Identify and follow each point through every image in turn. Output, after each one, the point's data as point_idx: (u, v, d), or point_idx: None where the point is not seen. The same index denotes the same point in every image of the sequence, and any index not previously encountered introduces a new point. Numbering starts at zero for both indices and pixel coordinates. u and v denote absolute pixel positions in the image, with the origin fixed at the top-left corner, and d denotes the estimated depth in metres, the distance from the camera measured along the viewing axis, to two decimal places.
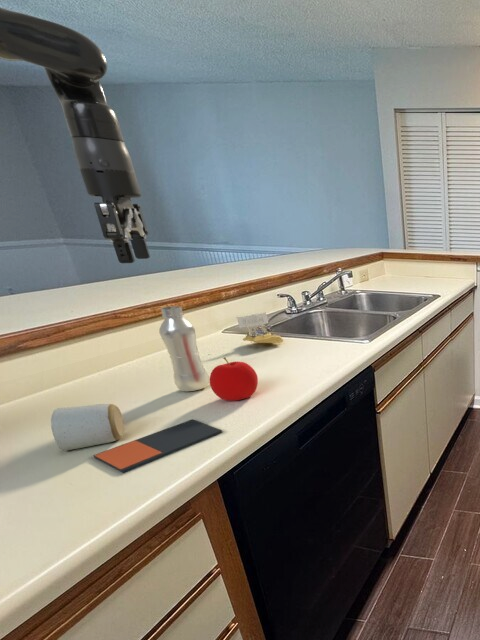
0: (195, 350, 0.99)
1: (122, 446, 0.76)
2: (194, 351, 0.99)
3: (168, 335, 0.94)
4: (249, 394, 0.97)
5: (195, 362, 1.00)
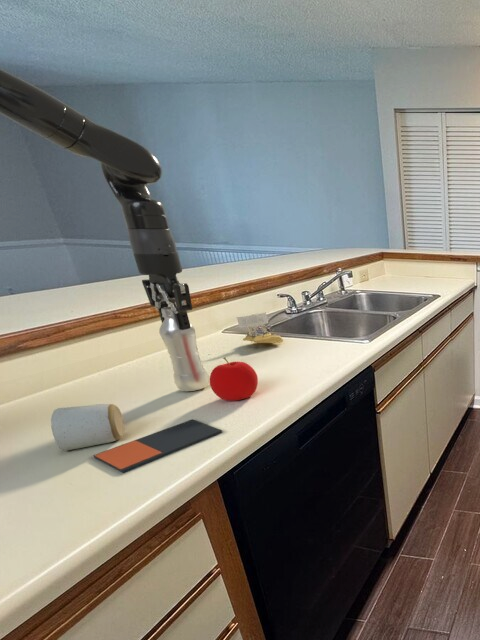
0: (195, 350, 0.99)
1: (122, 446, 0.76)
2: (194, 351, 0.99)
3: (168, 335, 0.94)
4: (249, 394, 0.97)
5: (195, 362, 1.00)
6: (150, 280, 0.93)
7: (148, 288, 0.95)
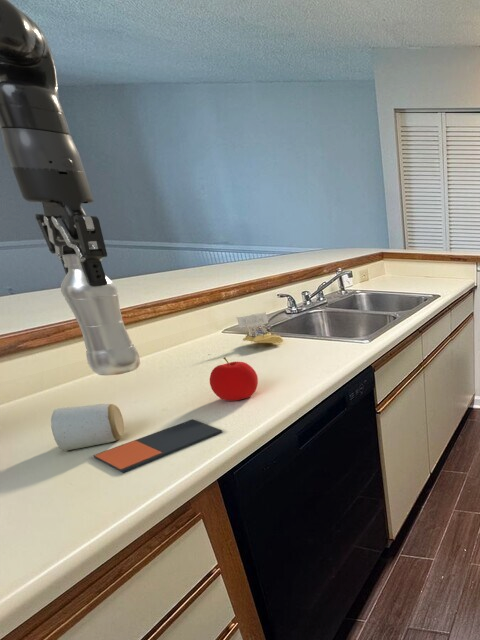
0: (117, 317, 0.70)
1: (122, 446, 0.76)
2: (115, 319, 0.70)
3: (73, 293, 0.66)
4: (249, 394, 0.97)
5: (118, 335, 0.71)
6: (45, 213, 0.65)
7: (45, 226, 0.66)
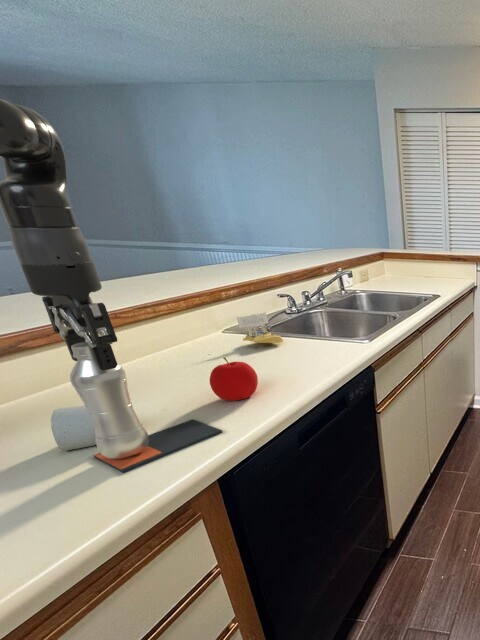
0: (126, 402, 0.70)
1: None
2: (124, 403, 0.70)
3: (82, 384, 0.65)
4: (249, 394, 0.97)
5: (127, 419, 0.71)
6: (54, 302, 0.64)
7: (51, 309, 0.66)
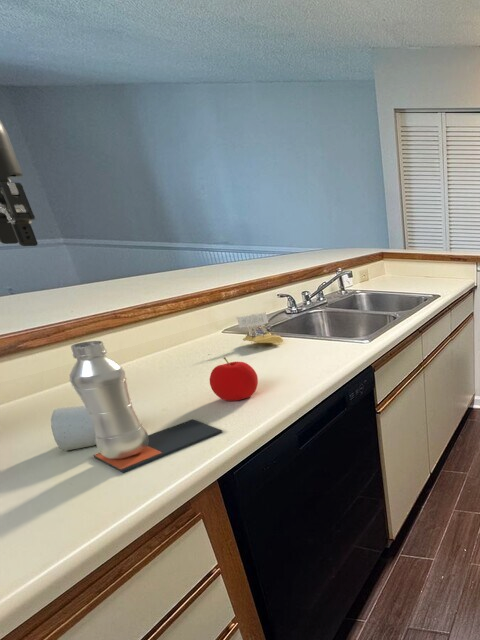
0: (126, 402, 0.70)
1: None
2: (124, 403, 0.70)
3: (82, 384, 0.65)
4: (249, 394, 0.97)
5: (127, 419, 0.71)
6: None
7: None
